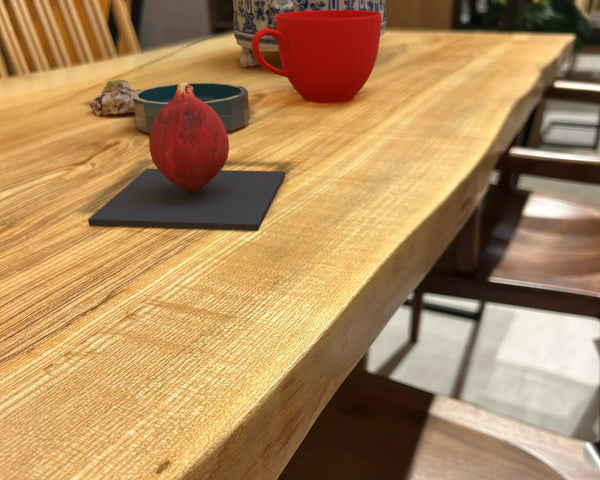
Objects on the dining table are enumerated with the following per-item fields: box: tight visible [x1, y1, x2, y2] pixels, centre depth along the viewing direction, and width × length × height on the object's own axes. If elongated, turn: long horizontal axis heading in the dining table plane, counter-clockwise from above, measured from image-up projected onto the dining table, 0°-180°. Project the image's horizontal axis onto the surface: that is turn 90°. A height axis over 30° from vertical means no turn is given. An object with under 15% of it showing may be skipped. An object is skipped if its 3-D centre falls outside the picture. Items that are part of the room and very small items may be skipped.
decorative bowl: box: [232, 0, 387, 68], centre depth 112 cm, size 42×27×15 cm, turn 169°
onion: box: [148, 82, 230, 193], centre depth 47 cm, size 6×6×8 cm
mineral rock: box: [89, 79, 141, 116], centre depth 78 cm, size 11×4×8 cm
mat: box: [87, 168, 286, 232], centre depth 49 cm, size 12×12×1 cm
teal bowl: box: [133, 82, 250, 134], centre depth 70 cm, size 12×12×4 cm
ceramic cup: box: [252, 10, 382, 105], centre depth 79 cm, size 13×17×10 cm
